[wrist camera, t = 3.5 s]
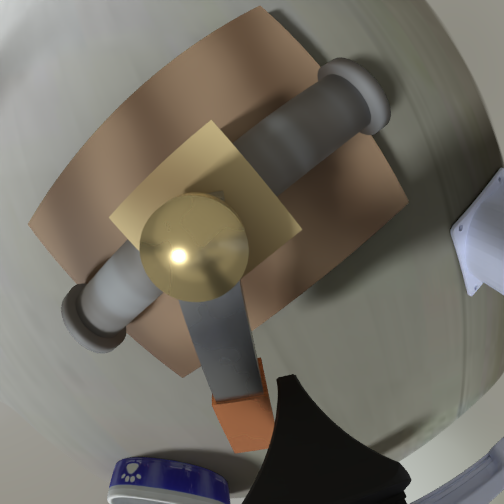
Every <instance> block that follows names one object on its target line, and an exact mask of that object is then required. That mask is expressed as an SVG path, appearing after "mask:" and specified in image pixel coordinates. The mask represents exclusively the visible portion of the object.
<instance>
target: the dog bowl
mask: <svg viewBox="0 0 504 504" xmlns="http://www.w3.org/2000/svg"><path fill="white" fill-rule="evenodd" d="M107 500H108V502H109V503H110V504H230V496H229V488H228V483H227V481H226V480H225V479H224V478H223V477H222V476H220V475H219V474H217V473H215V472H213V471H211V470H208V469H205V468H202V467H199V466H195V465H192V464H187V463H183V462H178V461H172V460H166V459H158V458H147V457H133V458H126V459H122V460H120V461H118V462H117V463H116V465H115V468H114V471H113V475H112V478H111V482H110V486H109V491H108V496H107Z"/></svg>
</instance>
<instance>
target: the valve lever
mask: <svg viewBox="0 0 504 504" xmlns="http://www.w3.org/2000/svg"><path fill="white" fill-rule="evenodd" d="M139 251H140V258H141V262H142V265H143V268H144V270H145V272H146V274H147V276H148V277H149V279H150V280H151V281H152V282H153V283H154V285H155V286H156V287H158V288H159V289H160V290H161V291H163V292H164V293H165V294H167V295H169V296H171V297H173V298H176V299H178V301H179V304H180V307H181V310H182V313H183V316H184V319H185V322H186V325H187V328H188V331H189V334H190V336H191V339H192V342H193V345H194V348H195V350H196V353H197V356H198V358H199V361H200V364H201V366H202V369H203V371H204V374H205V377H206V379H207V382H208V384H209V387H210V389H211V391H212V407H213V409H214V411H215V413H216V415H217V418H218V420H219V422H220V424H221V426H222V428H223V430H224V432H225V434H226V436H227V438H228V441H229V443H230V445H231V447H232V448H233V450H234V452H235V453H241V452H248V451H255V450H261V449H267V448H269V444H270V441H271V437H272V433H273V429H274V424H275V422H274V417H273V412H272V407H271V403H270V398H269V393H268V389H267V384H266V379H265V375H264V370H263V365H262V360H261V358H257V354H256V350H255V345H254V341H253V336H252V331H251V327H250V322H249V317H248V312H247V308H246V303H245V298H244V293H243V289H242V284H241V277H242V275H243V273H244V271H245V269H246V266H247V262H248V256H249V247H248V240H247V236H246V233H245V229H244V226H243V224H242V221H241V219H240V218H239V216H238V214H237V213H236V212H235V210H234V209H233V208H232V207H231V206H230V205H229V204H227V203H226V202H225V198H224V193H223V190H221V191H216V192H211V193H186V194H182V195H179V196H177V197H174V198H172V199H171V200H169V201H167V202H166V203H165V204H163V205H162V206H161V207H159V208H158V209H157V210H156V211H155V212H154V213H153V214H152V215H151V216H150V217H149V219H148V220H147V222H146V224H145V226H144V228H143V230H142V233H141V237H140V246H139Z"/></svg>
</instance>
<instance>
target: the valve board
mask: <svg viewBox="0 0 504 504" xmlns="http://www.w3.org/2000/svg"><path fill="white" fill-rule="evenodd" d="M390 117H391V110H390V105H389V102H388V99H387V97H386V94H385V93H384V91H383V89H382V87H381V86H380V84H379V83H378V82H377V80H376V79H375V78H374V77H373V76H372V75H371V74H370V73H369V72H368V71H367V70H366V69H365V68H364V67H362V66H361V65H359V64H358V63H356V62H354V61H352V60H350V59H346V58H335V59H333V60H332V61H330V62H328V63H327V64H325V65H323V66H322V67H320V66H319V65H318V63H317V62H316V61H315V60H314V59H313V58H312V57H311V55H310V54H309V53H308V52H307V51H306V50H305V49H304V48H303V47H302V46H301V45H300V44H299V42H298V41H297V40H296V39H295V38H294V37H293V36H292V35H291V34H290V33H289V32H288V31H287V30H286V29H285V28H284V27H283V26H282V25H281V24H280V23H279V22H278V21H277V20H275V19H274V18H273V17H272V16H271V15H270V14H269V13H268V12H267V11H266V10H265V9H263V8H262V7H261V6H258V7H256V8H254V9H252V10H250V11H248V12H247V13H245V14H243V15H241V16H239V17H237V18H236V19H234V20H232V21H230V22H229V23H227V24H225V25H224V26H222V27H220V28H219V29H217V30H215V31H214V32H212V33H211V34H209V35H208V36H206V37H204V38H203V39H201V40H200V41H199V42H197V43H196V44H194V45H193V46H191V47H190V48H188V49H187V50H186V51H184V52H183V53H182V54H180V55H179V56H177V57H176V58H175V59H173V60H172V61H171V62H170V63H168V64H167V65H166V66H165V67H163V68H162V69H161V70H160V71H158V72H157V73H156V74H155V75H153V76H152V77H151V78H150V79H149V80H148V81H146V82H145V83H144V84H143V85H142V86H141V87H140V88H139V89H137V90H136V91H135V92H134V93H133V94H132V95H131V96H130V97H129V98H128V99H127V100H126V101H125V102H123V103H122V104H121V105H120V106H119V107H118V108H117V109H116V110H115V111H114V112H113V113H112V114H111V115H110V116H109V118H108V119H107V120H106V121H105V122H104V123H103V124H102V125H101V126H100V127H99V128H98V129H97V130H96V131H95V133H94V134H93V135H92V136H91V137H90V138H89V139H88V141H87V142H86V143H85V144H84V145H83V146H82V148H81V149H80V150H79V151H78V153H77V154H76V155H75V156H74V157H73V159H72V160H71V161H70V163H69V164H68V165H67V166H66V168H65V169H64V170H63V172H62V173H61V174H60V176H59V177H58V179H57V180H56V181H55V183H54V184H53V186H52V187H51V188H50V190H49V191H48V193H47V194H46V196H45V197H44V199H43V200H42V202H41V203H40V205H39V207H38V208H37V210H36V211H35V213H34V215H33V216H32V218H31V220H30V221H29V223H28V225H29V227H30V228H31V229H32V231H33V232H34V233H35V235H36V236H37V237H38V239H39V240H40V241H41V242H42V244H43V245H44V246H45V247H46V249H47V250H48V251H49V252H50V254H51V255H52V256H53V257H54V258H55V260H56V261H57V262H58V263H59V264H60V266H61V267H62V268H63V269H64V270H65V271H66V272H67V274H68V275H69V276H70V277H71V278H72V279H73V280H74V281H75V282H76V283H77V285H75V286H74V287H73V288H72V289H71V290H70V291H69V293H68V294H67V295H66V296H65V298H64V300H63V302H62V307H61V312H62V318H63V321H64V324H65V326H66V328H67V330H68V331H69V333H70V334H71V335H72V337H73V338H74V339H75V340H76V341H77V342H78V343H79V344H80V345H82V346H83V347H85V348H86V349H88V350H90V351H93V352H96V353H108V352H111V351H112V350H114V349H115V348H116V347H117V346H118V345H119V344H121V343H122V342H123V340H124V339H125V336H126V333H128V334H129V335H130V336H131V337H132V338H133V339H134V340H136V341H137V342H138V343H139V344H140V345H141V346H143V347H144V348H145V349H146V350H147V351H149V352H150V353H151V354H152V355H153V356H155V357H156V358H157V359H158V360H160V361H161V362H162V363H163V364H165V365H166V366H167V367H169V368H170V369H171V370H173V371H174V372H175V373H177V374H178V375H179V376H181V377H182V378H183V377H185V376H186V375H188V374H190V373H191V372H193V371H194V370H196V369H197V368H199V367H200V366H201V364H200V361H199V358H198V356H197V353H196V350H195V348H194V345H193V342H192V339H191V336H190V334H189V331H188V328H187V325H186V322H185V319H184V316H183V313H182V310H181V307H180V304H179V301H178V299H176V298H173V297H171V296H169V295H167V294H165V293H164V292H163V291H161V290H160V289H159V288H158V287H156V286H155V285H154V283H153V282H152V281H151V280H150V279H149V277H148V276H147V274H146V272H145V270H144V268H143V265H142V262H141V258H140V251H139V246H140V237H141V233H142V230H143V228H144V226H145V224H146V222H147V220H148V219H149V217H150V216H151V215H152V214H153V213H154V212H155V211H156V210H157V209H158V208H159V207H161V206H162V205H163V204H165V203H166V202H167V201H169V200H171V199H172V198H174V197H177V196H179V195H182V194H186V193H211V192H216V191H221V190H223V193H224V198H225V202H226V203H227V204H229V205H230V206H231V207H232V208H233V209H234V210H235V212H236V213H237V214H238V216H239V218H240V219H241V221H242V224H243V226H244V229H245V233H246V236H247V240H248V247H249V256H248V262H247V266H246V269H245V271H244V273H243V275H242V277H241V284H242V289H243V293H244V298H245V303H246V308H247V312H248V317H249V322H250V327H251V331H253V330H254V329H255V328H257V327H258V326H259V325H261V324H262V323H264V322H265V321H266V320H268V319H269V318H270V317H272V316H273V315H274V314H276V313H277V312H278V311H280V310H281V309H282V308H284V307H285V306H286V305H288V304H289V303H290V302H292V301H293V300H294V299H296V298H297V297H298V296H299V295H301V294H302V293H303V292H305V291H306V290H307V289H308V288H310V287H311V286H312V285H313V284H315V283H316V282H317V281H318V280H320V279H321V278H322V277H323V276H325V275H326V274H327V273H328V272H330V271H331V270H332V269H333V268H335V267H336V266H337V265H338V264H339V263H341V262H342V261H343V260H344V259H345V258H347V257H348V256H349V255H350V254H351V253H353V252H354V251H355V250H356V249H357V248H358V247H360V246H361V245H362V244H363V243H364V242H365V241H367V240H368V239H369V238H370V237H371V236H372V235H374V234H375V233H376V232H377V231H378V230H379V229H380V228H381V227H383V226H384V225H385V224H386V223H387V222H388V221H389V220H390V219H391V218H393V217H394V216H395V215H396V214H397V213H398V212H399V211H400V210H401V209H402V208H403V207H405V206H406V205H407V204H408V203H409V201H408V199H407V197H406V195H405V193H404V191H403V189H402V187H401V185H400V183H399V181H398V180H397V178H396V176H395V174H394V172H393V171H392V169H391V167H390V165H389V164H388V162H387V160H386V158H385V157H384V155H383V153H382V152H381V150H380V148H379V147H378V145H377V144H376V142H375V140H374V139H373V137H372V136H371V135H374V134H376V133H377V132H378V131H379V130H381V129H382V128H383V127H385V126H386V125H387V124H388V123H389V121H390Z"/></svg>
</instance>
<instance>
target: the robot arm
mask: <svg viewBox="0 0 504 504" xmlns="http://www.w3.org/2000/svg"><path fill="white" fill-rule="evenodd" d="M459 226H460V227H459ZM450 233H451V237H452V240H453V243H454V246H455V249H456V252H457V256H458V259H459V262H460V266H461V270H462V273H463V277H464V281H465V285H466V289H467V293H468V295H470V296H472V295H473V294H474V293H475V292H476V291H477V290H478V289H479V287H480V286H481V285H482V284H483V283H485V284H487V285H489V286H490V287H492V288H493V289H495V290H496V291H498V292H499V293H501V294H503V295H504V168H500V169H499V170H498V172H497V173H496V174H495V176H494V177H493V178H492V180H491V181H490V182H489V183H488V185H487V186H486V187H485V189H484V190H483V191H482V192H481V194H480V195H479V196H478V197H477V198H476V200H475V201H474V202H473V203H472V204H471V206H470V207H469V208H468V209H467V210H466V212H465V213H464V214H463V215H462V216H461V217H460V218H459V219H458V221H457V222H456V223H455V224H454V225H453V226H452V228H451V232H450ZM277 386H278V403H277V412H276V419H275V424H274V429H273V433H272V437H271V441H270V444H269V448H268V451H267V454H266V456H265V459H264V462H263V464H262V467H261V469H260V471H259V473H258V475H257V478H256V480H255V482H254V484H253V486H252V487H251V489H250V491H249V493H248V494H247V496H246V498H245V499H244V501H243V502H242V504H407V503H406V501H405V498H406V495H405V493H404V490H405V489H406V487H407V486H408V485H409V484H410V482H411V478H410V476H409V474H408V472H407V471H406V470H405V468H404V467H403V466H402V465H401V464H400V463H399V462H397V461H394V460H392V459H390V458H387V457H385V456H383V455H381V454H379V453H377V452H375V451H373V450H372V449H370V448H368V447H367V446H365V445H363V444H362V443H360V442H359V441H357V440H356V439H354V438H353V437H351V436H350V435H349V434H347V433H346V432H345V431H343V430H342V429H341V428H340V427H339V426H337V425H336V424H335V423H334V422H333V421H332V420H331V419H330V418H329V417H328V416H327V415H326V414H325V413H324V412H323V411H322V410H321V409H320V408H319V407H318V406H317V405H316V403H315V402H314V401H313V400H312V399H311V397H310V396H309V395H308V394H307V392H306V391H305V390H304V388H303V387H302V385H301V384H300V382H299V380H298V379H297V377H296V375H294V374H292V375H288V376H283V377H279V378H278V379H277ZM503 490H504V437H503V438H502V439H501V440H500V441H498V442H497V443H496V445H494V446H493V447H492V448H491V449H490V451H489V452H488V453H487V454H486V455H485V456H484V457H482V458H481V459H480V460H479V461H477V462H476V463H475V464H473V465H472V466H471V467H469V468H468V469H466V470H465V471H464V472H462V473H461V474H459V475H458V476H456V477H455V478H453V479H452V480H450V481H449V482H447V483H445V484H444V485H442V486H441V487H439V488H437V489H436V490H434V491H432V492H430V493H429V494H427V495H425V496H423V497H422V498H420V499H418V500H416V501H414V502H412V503H410V504H488V503H490V502H491V501H492V500H493V499H494V498H495V497H496V496H497V495H498V494H500V492H502V491H503Z"/></svg>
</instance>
